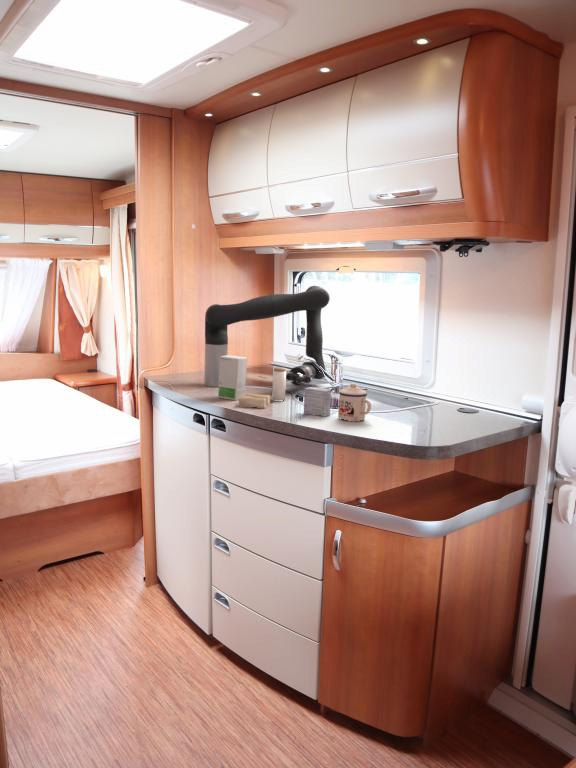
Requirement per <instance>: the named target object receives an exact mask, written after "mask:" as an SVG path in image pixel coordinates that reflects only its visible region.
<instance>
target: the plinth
mask: <svg viewBox="0 0 576 768" xmlns="http://www.w3.org/2000/svg"><path fill="white" fill-rule="evenodd" d="M269 403H270V404H271V395H268V394H256V393H255V394H253V393H245V395H243V396H241V397H240V398H239V400H238V407H241V408H251V407H257V408H256V409H266V408H267V407H268V406H269V405H270V404H269ZM268 404H269V405H268ZM267 405H268V406H267ZM266 406H267V407H266ZM265 407H266V408H265Z"/></svg>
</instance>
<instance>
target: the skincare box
mask: <svg viewBox="0 0 576 768" xmlns="http://www.w3.org/2000/svg"><path fill="white" fill-rule="evenodd" d="M247 365H248V357H244V356H239V355H233V354H232V355H231V354H227V355H226V356H220V370H219V387H217V388H218V390H217V398H219V399H226V400H231V401H235V400H236V401H239V398H240V397H241V396H243V395H245V394H246V384H247V381H246V380H247Z"/></svg>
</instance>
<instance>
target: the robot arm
mask: <svg viewBox="0 0 576 768" xmlns="http://www.w3.org/2000/svg"><path fill="white" fill-rule="evenodd" d="M330 299H331V298H330V294H329V292H328V291H327V290H326V289H325V288H324V287H320V286H318V285H311V286H309V287H307V289H306V290H305V291H302V292H297V293H279V294H278V293H274V294H268V295H262V296H258V297H254V298H251V299H248V300H245V301H242V302H238V303H232V304H211V305H210V306H209V307H208V308H207V309H206V311H205V317H204V378H203V379H204V381H203V384H204V386H206V387H211V388H213V387H214V388H218V387H219V370H220V356H226V355H228V353H229V352H228V350H229V349H228V347H229V346H228V344H229V337H228V326H229V325H232V324H236V323H237V324H238V323H240V322H248V321H258V320H265V319H271V318H276V317H280V316H284V315H288V314H292V313H297V312H301V311H305V314H306V316H305V317H306V339H305V355H306V356H307V357H308V358H311V359H314V361H315V363H317V364H318V365H319V366H321V367H322V368H323V369H324V370H325V371H326V366H325V361H324V356H323V355H324V354H323V329H322V321H321V320H322V319H321V318H322V309H324V308H326V306H327V305H329V303H330ZM311 362H312V361H304V362H303V363H302V364H301V365H298V366H297V365H296V366H294V367H292V368H291V369H290V370H289V372H286V382H287V383H288V382H289V383H291V384H292V385H294V386H301V385H305V384H310V383H312V382H313V379H314V380H322V379H324V377H325V376H323V375H322V374H321V373H320V372H319V370H318V369H317V368H316V367H315V366H314V365H313V364H312V363H311Z"/></svg>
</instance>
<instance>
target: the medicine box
mask: <svg viewBox="0 0 576 768" xmlns="http://www.w3.org/2000/svg"><path fill="white" fill-rule="evenodd" d="M331 394H332V390H331V389H330V388H322V387H314V386H310V387H306V388H304V398H303V399H304V400H303V401H304V402H303V414H304V413H306V415H311V414H315V415H314V416H317V415H323V416H322V417H326V416H325V415H327V416H329V415H328V414H330V415H331V400H332V399H331V397H332V395H331Z"/></svg>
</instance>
